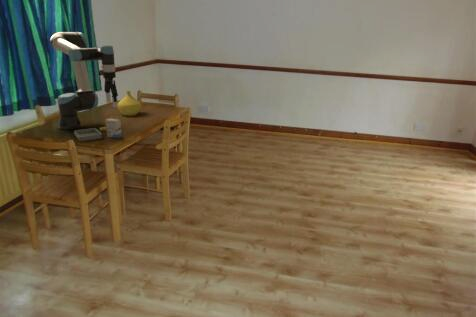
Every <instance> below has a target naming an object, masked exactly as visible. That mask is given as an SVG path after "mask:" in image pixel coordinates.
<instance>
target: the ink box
mask: <svg viewBox="0 0 476 317" xmlns="http://www.w3.org/2000/svg"><path fill="white" fill-rule="evenodd" d="M105 127H106V129H107V130H106V135H107V136H106V137H107V138H113V139H119V138H122V135H123V134H122V125H121V119H117V118H107V119H105Z"/></svg>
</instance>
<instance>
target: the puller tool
mask: <svg viewBox="0 0 476 317" xmlns="http://www.w3.org/2000/svg"><path fill="white" fill-rule="evenodd" d="M98 128H99V129H98V130H99V132H104V131H107V129H106V126H101V127H98Z"/></svg>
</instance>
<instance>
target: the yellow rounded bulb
mask: <svg viewBox="0 0 476 317" xmlns="http://www.w3.org/2000/svg"><path fill="white" fill-rule="evenodd" d="M125 93H126V95H125V96H123V98H122V99H121V100H120V101H117V105H118V107H117V109H118V111H119V112H120V114H122V115H123V116H126V117H130V116H133V117H134V116H136V115H137V114H138V113H139V112H140V111H141V108H142V103H141V101H139V100H138V99H137V98H135V97H134V96H132V93H131V91H130V90H126V91H125Z"/></svg>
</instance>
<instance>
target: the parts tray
mask: <svg viewBox="0 0 476 317" xmlns="http://www.w3.org/2000/svg"><path fill="white" fill-rule="evenodd" d="M73 135H74V137H75V138H76V139H77V140H78V141H79V142H80V143H81V142H85V141H86V142H87V141H95V140H100V139H101V140H102V139H103V133H102V132H101V131H100V130H99V129H97V128H96V127H93V128H85V129H83V128H82V129H74V130H73Z"/></svg>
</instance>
